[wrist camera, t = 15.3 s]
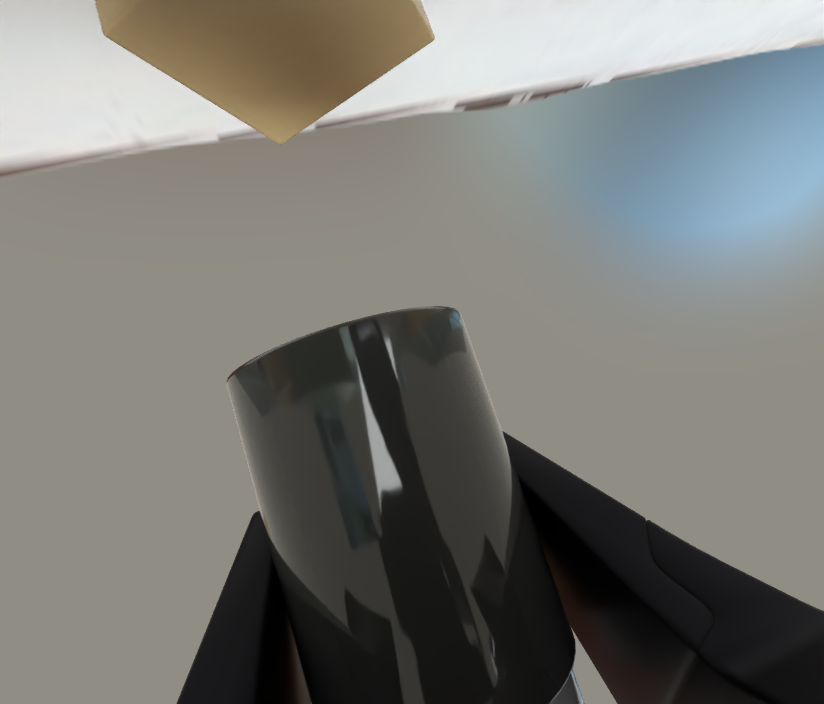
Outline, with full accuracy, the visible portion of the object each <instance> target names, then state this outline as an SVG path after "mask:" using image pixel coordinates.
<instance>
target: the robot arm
mask: <svg viewBox="0 0 824 704" xmlns="http://www.w3.org/2000/svg"><path fill="white" fill-rule="evenodd" d="M502 432H503V431H502ZM503 435H504V438H505V441H506V444H507V447H508V450H509V452H510V455H511V458H512V461H513V464H514V467H515V470H516V472H517V475H518V478H519V481H520V484H521V487H522V489H523V492H524V495H525V498H526V501H527V504H528V507H529V509H530V512H531V515H532V518H533V521H534V524H535V527H536V529H537V532H538V535H539V538H540V541H541V544H542V547H543V549H544V552H545V555H546V558H547V561H548V564H549V567H550V569H551V572H552V575H553V578H554V581H555V584H556V587H557V589H558V592H559V595H560V598H561V601H562V604H563V606H564V609H565V612H566V615H567V618H568V621H569V624H570V626H571V628H572V629H573V631H574V632H575V634H576V636H577V638H578V639H579V641H580V642H581V644H582V646H583V647H584V649H585V651H586V652H587V654H588V656H589V657H590V659H591V660H592V662H593V664H594V666H595V667H596V669H597V670H598V672H599V674H600V675H601V677H602V679H603V680H604V682H605V684H606V685H607V687H608V689H609V690H610V692H611V694H612V695H613V697H614V698H615V700H616V702H617V703H618V704H824V611H822V610H820V609H817V608H815V607H813V606H811V605H809V604H806V603H804V602H802V601H800V600H798V599H796V598H794V597H792V596H790V595H788V594H786V593H784V592H782V591H780V590H778V589H776V588H774V587H772V586H770V585H768V584H766V583H764V582H762V581H760V580H758V579H756V578H754V577H752V576H750V575H748V574H746V573H744V572H742V571H740V570H738V569H736V568H734V567H732V566H730V565H728V564H726V563H724V562H722V561H720V560H718V559H717V558H715V557H713V556H711V555H709V554H707V553H705V552H703V551H701V550H699V549H697V548H696V547H694V546H692V545H690V544H689V543H687V542H685V541H683V540H682V539H680V538H678V537H677V536H675V535H673V534H671V533H670V532H668V531H666V530H665V529H663V528H661V527H660V526H658V525H656V524H655V523H653V522H651V521H650V520H647V521H646V519H645V518H644V517H643V516H641V515H640V514H638V513H636V512H635V511H633V510H631V509H630V508H628V507H626V506H625V505H623V504H621V503H620V502H618V501H617V500H615V499H613V498H612V497H610V496H608V495H607V494H605V493H603V492H602V491H600V490H598V489H597V488H595V487H593V486H592V485H590V484H589V483H587V482H585V481H583V480H582V479H580V478H579V477H577V476H576V475H574V474H572V473H571V472H569V471H567V470H566V469H564V468H562V467H561V466H559V465H557V464H556V463H554V462H552V461H551V460H549V459H548V458H546V457H544V456H543V455H541V454H539V453H538V452H536V451H534V450H533V449H531V448H530V447H528V446H526V445H525V444H523V443H521V442H520V441H518V440H516V439H515V438H513V437H511V436H510V435H508V434H507V433H505V432H503ZM177 704H311V701H310V697H309V693H308V689H307V686H306V682H305V678H304V674H303V671H302V667H301V663H300V659H299V656H298V652H297V648H296V644H295V641H294V637H293V633H292V629H291V626H290V622H289V618H288V614H287V611H286V607H285V603H284V599H283V596H282V592H281V588H280V584H279V581H278V577H277V573H276V569H275V566H274V562H273V558H272V554H271V551H270V547H269V543H268V539H267V536H266V532H265V528H264V524H263V521H262V517H261V513H260V511H258V512H256V513H254V514H253V516H252V518H251V520H250V523H249V526H248V528H247V530H246V533H245V535H244V538H243V540H242V543H241V545H240V548H239V550H238V553H237V555H236V558H235V560H234V563H233V565H232V567H231V570H230V572H229V575H228V577H227V580H226V582H225V585H224V587H223V590H222V592H221V595H220V597H219V600H218V602H217V605H216V607H215V610H214V612H213V615H212V617H211V619H210V622H209V624H208V627H207V629H206V632H205V634H204V637H203V639H202V642H201V644H200V647H199V649H198V652H197V654H196V657H195V659H194V662H193V664H192V667H191V669H190V671H189V674H188V676H187V679H186V681H185V684H184V686H183V689H182V691H181V694H180V696H179V699H178V701H177Z"/></svg>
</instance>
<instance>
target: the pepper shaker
mask: <svg viewBox="0 0 824 704" xmlns="http://www.w3.org/2000/svg"><path fill="white" fill-rule="evenodd" d="M226 386H227V389H228V393H229V397H230V400H231V404H232V408H233V412H234V415H235V419H236V423H237V427H238V430H239V434H240V438H241V442H242V446H243V449H244V453H245V457H246V461H247V464H248V468H249V471H250V475H251V479H252V483H253V487H254V490H255V494H256V498H257V501H258V505H259V509H260V513H261V517H262V521H263V524H264V528H265V532H266V536H267V539H268V543H269V547H270V551H271V554H272V558H273V562H274V566H275V569H276V573H277V577H278V581H279V584H280V588H281V592H282V596H283V599H284V603H285V607H286V611H287V614H288V618H289V622H290V626H291V629H292V633H293V637H294V641H295V644H296V648H297V652H298V656H299V659H300V663H301V667H302V671H303V674H304V678H305V682H306V686H307V689H308V693H309V697H310V701H311V704H584V701H583V698H582V696H581V693H580V690H579V687H578V684H577V681H576V678H575V675H574V672H573V669H572V668H573V665H574V660H575V652H576V651H575V639H574V636H573V632H572V629H571V626H570V624H569V621H568V618H567V615H566V612H565V609H564V606H563V604H562V601H561V598H560V595H559V592H558V589H557V587H556V584H555V581H554V578H553V575H552V572H551V569H550V567H549V564H548V561H547V558H546V555H545V552H544V549H543V547H542V544H541V541H540V538H539V535H538V532H537V529H536V527H535V524H534V521H533V518H532V515H531V512H530V509H529V507H528V504H527V501H526V498H525V495H524V492H523V489H522V487H521V484H520V481H519V478H518V475H517V472H516V470H515V467H514V464H513V461H512V458H511V455H510V452H509V450H508V447H507V444H506V441H505V438H504V435H503V432H502V430H501V427H500V424H499V421H498V418H497V415H496V412H495V410H494V407H493V404H492V401H491V398H490V395H489V392H488V390H487V387H486V384H485V381H484V378H483V375H482V372H481V370H480V367H479V364H478V361H477V359H476V355H475V353H474V350H473V347H472V344H471V341H470V338H469V336H468V333H467V330H466V327H465V324H464V321H463V318H462V316H461V314H460V312H459V311H458V310H456V309H454V308H450V307H441V306H438V307H437V306H435V307H418V308H410V309H403V310H397V311H391V312H386V313H382V314H377V315H373V316H368V317H364V318H360V319H357V320H353V321H349V322H345V323H342V324H339V325H336V326H333V327H329V328H326V329H323V330H320V331H317V332H314V333H311V334H308V335H306V336H303V337H300V338H297V339H295V340H292V341H290V342H287V343H285V344H282V345H280V346H278V347H276V348H273V349H271V350H269V351H267V352H265V353H263V354H261V355H259V356H257V357H255V358H253V359H251V360H250V361H249V362H247V363H245V364H244V365H242V366H240V367H239V368H238V369H236V370H235V371H234V372H233V373H232V374H231V375H230V376H229V377H228V380H227V384H226Z"/></svg>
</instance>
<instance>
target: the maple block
mask: <svg viewBox="0 0 824 704" xmlns="http://www.w3.org/2000/svg"><path fill="white" fill-rule="evenodd" d="M95 4H96V8H97V12H98V16H99V20H100V24H101V27H102V31H103V34H104V35H105V36H106V37H107V38H109V39H110V40H112V41H114V42H115V43H117V44H119V45H120V46H122V47H123V48H125V49H127V50H128V51H130V52H131V53H133V54H135V55H136V56H138V57H139V58H141V59H143V60H144V61H146V62H148V63H149V64H151V65H152V66H154V67H156V68H157V69H159V70H160V71H162V72H164V73H165V74H167V75H169V76H170V77H172V78H173V79H175V80H177V81H178V82H180V83H181V84H183V85H185V86H186V87H188V88H189V89H191V90H193V91H194V92H196V93H198V94H199V95H201V96H202V97H204V98H206V99H207V100H209V101H210V102H212V103H214V104H215V105H217V106H218V107H220V108H222V109H223V110H225V111H227V112H228V113H230V114H231V115H233V116H235V117H236V118H238V119H239V120H241V121H243V122H244V123H246V124H247V125H249V126H251V127H252V128H254V129H256V130H257V131H259V132H260V133H262V134H264V135H265V136H267V137H268V138H270V139H272V140H273V141H275V142H277V143H278V144H282V143H284V142H285V141H287V140H288V139H290V138H291V137H293V136H294V135H296V134H297V133H299V132H300V131H302V130H303V129H304V128H306V127H307V126H309V125H310V124H312V123H313V122H315V121H316V120H318V119H319V118H321V117H322V116H324V115H325V114H326V113H328V112H329V111H331V110H332V109H334V108H335V107H337V106H338V105H340V104H341V103H343V102H344V101H346V100H347V99H349V98H350V97H351V96H353V95H354V94H356V93H357V92H359V91H360V90H362V89H363V88H365V87H366V86H368V85H369V84H371V83H372V82H373V81H375V80H376V79H378V78H379V77H381V76H382V75H384V74H385V73H387V72H388V71H390V70H391V69H393V68H394V67H395V66H397V65H398V64H400V63H401V62H403V61H404V60H406V59H407V58H409V57H410V56H412V55H413V54H415V53H416V52H417V51H419V50H420V49H422V48H423V47H425V46H426V45H428V44H429V43H431V42H432V41H433V40H434V34H433V31H432V28H431V26H430V23H429V21H428V18H427V15H426V13H425V10H424V8H423V5H422V2H421V0H95Z"/></svg>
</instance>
